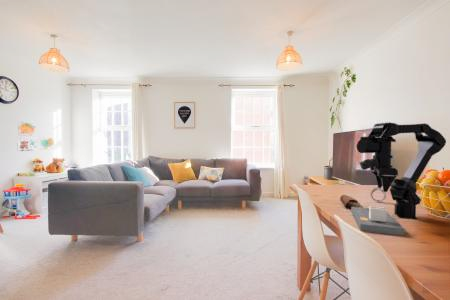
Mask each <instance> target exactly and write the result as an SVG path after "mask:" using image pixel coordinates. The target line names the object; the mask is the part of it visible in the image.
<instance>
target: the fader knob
mask: <svg viewBox="0 0 450 300" xmlns="http://www.w3.org/2000/svg"><path fill="white" fill-rule="evenodd" d="M368 208H369V219H370V220H372V221H382V222H386V212H388V211H387V208H386V207H383V206H382V207H381V206H370V205H369V206H368Z"/></svg>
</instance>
